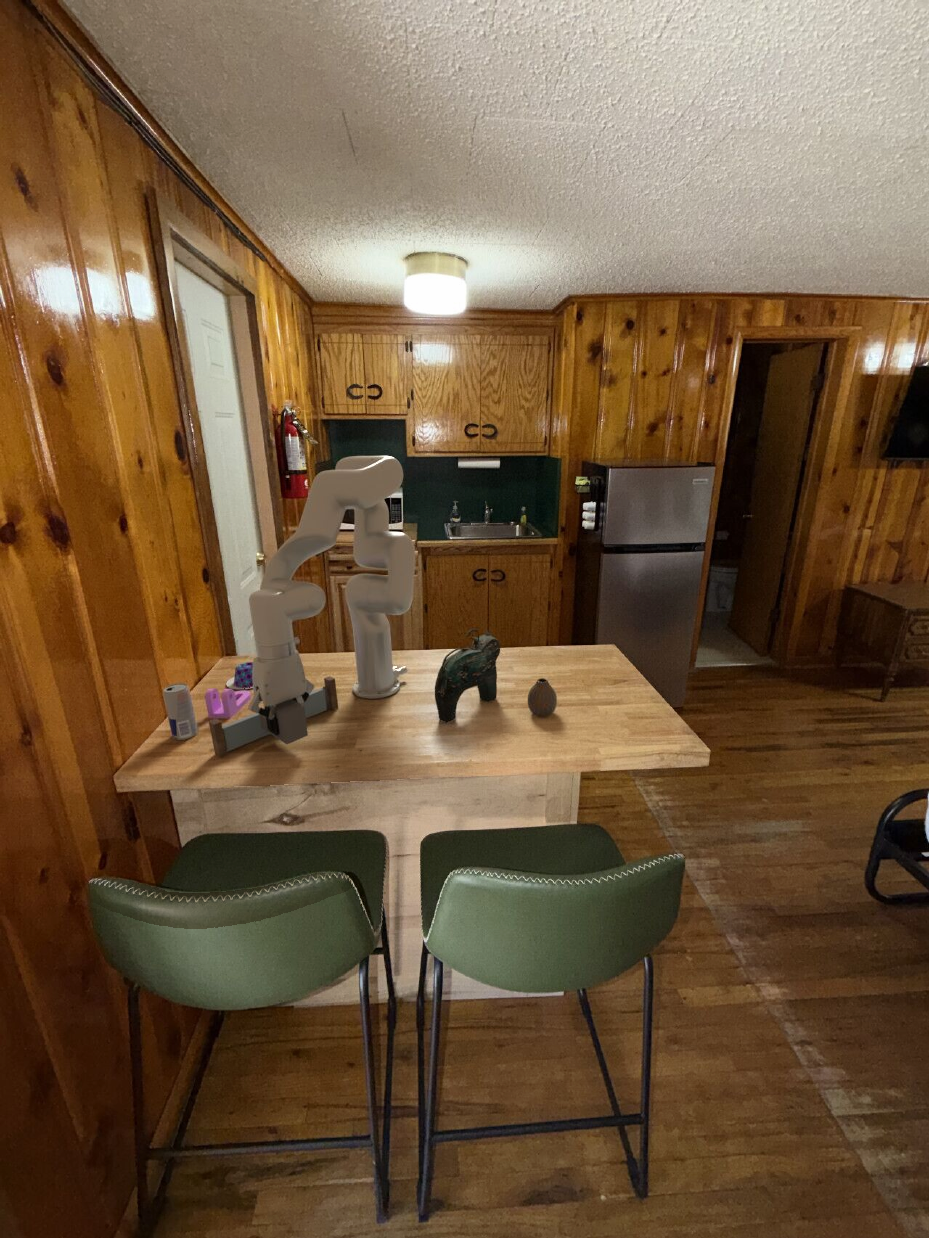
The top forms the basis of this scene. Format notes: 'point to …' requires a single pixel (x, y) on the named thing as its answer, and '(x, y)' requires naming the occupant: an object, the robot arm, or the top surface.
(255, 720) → the grey long flat board
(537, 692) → the vase
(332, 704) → the frame
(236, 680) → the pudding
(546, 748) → the top surface
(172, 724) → the energy drink
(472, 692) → the top surface
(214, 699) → the bracket
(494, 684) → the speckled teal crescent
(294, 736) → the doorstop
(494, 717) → the top surface
